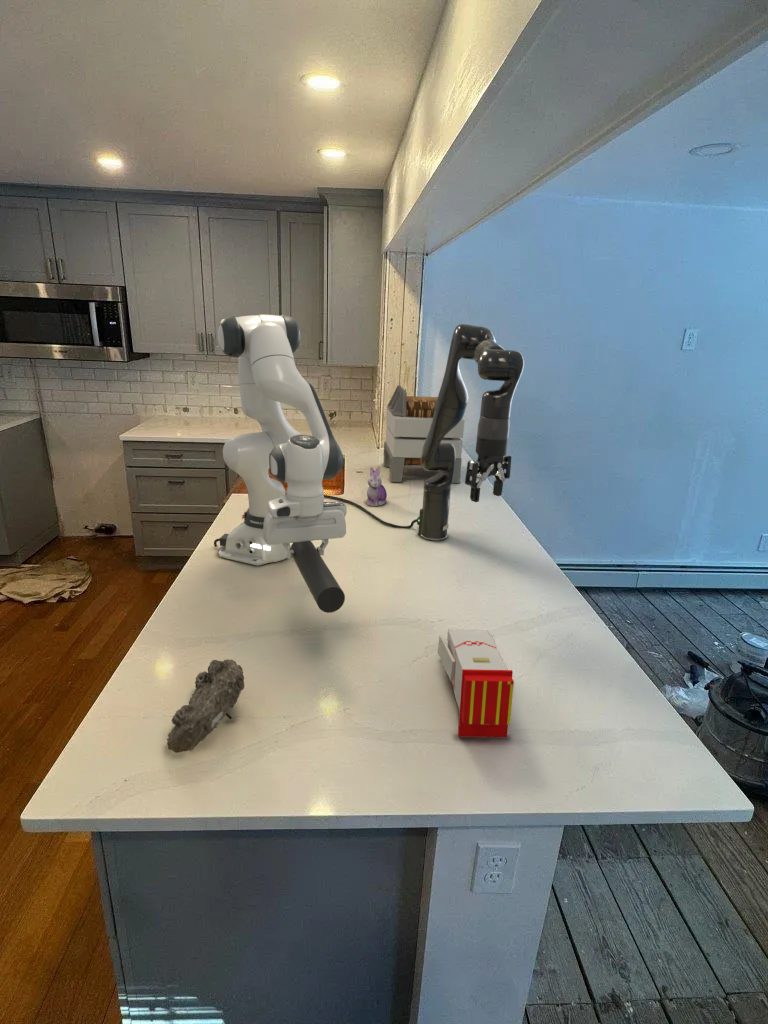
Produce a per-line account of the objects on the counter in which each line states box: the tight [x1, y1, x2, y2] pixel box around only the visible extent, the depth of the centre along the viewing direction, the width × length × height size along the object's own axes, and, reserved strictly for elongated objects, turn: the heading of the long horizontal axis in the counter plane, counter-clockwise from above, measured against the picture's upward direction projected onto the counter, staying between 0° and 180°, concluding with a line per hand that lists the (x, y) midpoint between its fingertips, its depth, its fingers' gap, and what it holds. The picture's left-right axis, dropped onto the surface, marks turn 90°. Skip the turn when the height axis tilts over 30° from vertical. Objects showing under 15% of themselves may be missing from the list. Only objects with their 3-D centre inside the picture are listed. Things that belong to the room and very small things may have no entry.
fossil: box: [166, 658, 245, 754], centre depth 106 cm, size 22×10×15 cm
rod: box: [290, 541, 346, 614], centre depth 132 cm, size 28×6×6 cm, turn 21°
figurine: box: [366, 466, 388, 507], centre depth 227 cm, size 9×10×15 cm
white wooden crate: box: [383, 384, 465, 484], centre depth 268 cm, size 34×33×41 cm
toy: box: [437, 628, 515, 738], centre depth 117 cm, size 12×13×30 cm
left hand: (305, 556), depth 141 cm, fingers closed on rod, 6 cm apart
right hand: (485, 498), depth 143 cm, fingers open, 8 cm apart
